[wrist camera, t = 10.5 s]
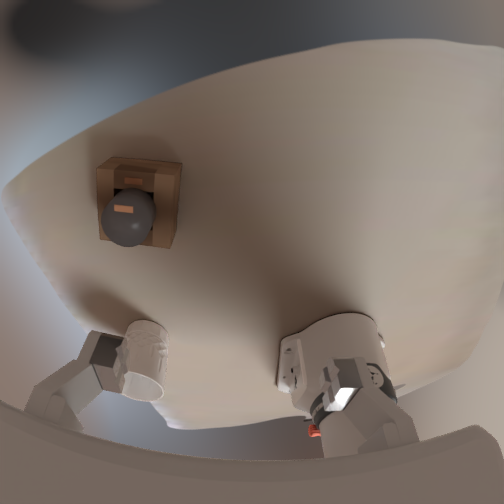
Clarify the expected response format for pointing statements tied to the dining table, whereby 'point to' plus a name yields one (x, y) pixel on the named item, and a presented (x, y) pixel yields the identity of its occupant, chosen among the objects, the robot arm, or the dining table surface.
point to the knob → (129, 217)
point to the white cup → (146, 361)
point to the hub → (147, 179)
